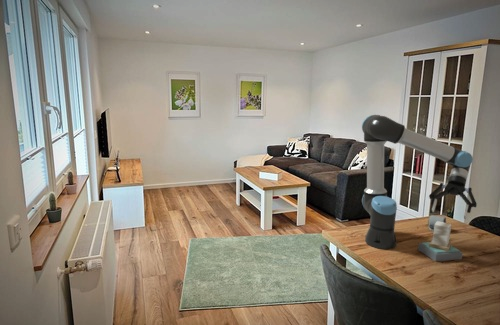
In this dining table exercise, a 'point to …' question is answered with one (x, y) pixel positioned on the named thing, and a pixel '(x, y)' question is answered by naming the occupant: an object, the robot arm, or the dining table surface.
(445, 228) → the pallet
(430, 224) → the ceramic mug
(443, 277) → the dining table surface
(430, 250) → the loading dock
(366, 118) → the robot arm
